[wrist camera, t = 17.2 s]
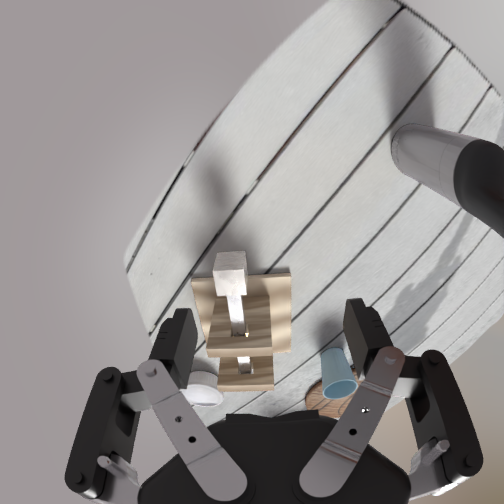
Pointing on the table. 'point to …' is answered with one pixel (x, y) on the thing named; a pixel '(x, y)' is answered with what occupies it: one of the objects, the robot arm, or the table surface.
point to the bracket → (258, 328)
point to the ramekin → (203, 389)
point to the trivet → (328, 400)
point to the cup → (336, 374)
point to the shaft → (234, 294)
